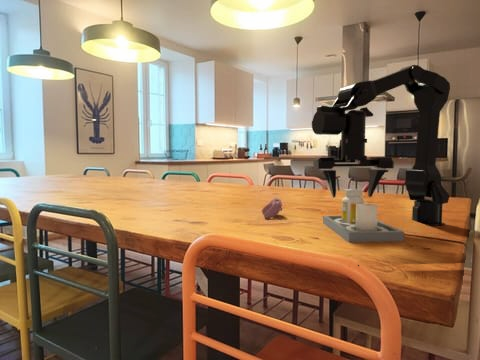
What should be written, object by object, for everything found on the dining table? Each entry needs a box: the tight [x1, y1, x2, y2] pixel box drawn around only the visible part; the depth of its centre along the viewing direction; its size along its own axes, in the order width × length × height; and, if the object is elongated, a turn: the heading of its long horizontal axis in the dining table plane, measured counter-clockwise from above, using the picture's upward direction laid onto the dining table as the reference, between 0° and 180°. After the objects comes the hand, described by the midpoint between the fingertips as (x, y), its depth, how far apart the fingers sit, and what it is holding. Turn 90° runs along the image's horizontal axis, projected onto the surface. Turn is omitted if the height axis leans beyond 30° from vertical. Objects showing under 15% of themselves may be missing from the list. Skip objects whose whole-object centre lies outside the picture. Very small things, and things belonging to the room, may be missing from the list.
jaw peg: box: [356, 203, 378, 231], centre depth 79 cm, size 5×5×7 cm
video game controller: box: [261, 197, 283, 220], centre depth 109 cm, size 10×5×7 cm, turn 0°
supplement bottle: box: [341, 188, 365, 224], centre depth 87 cm, size 5×5×10 cm
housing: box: [322, 215, 405, 243], centre depth 83 cm, size 12×20×3 cm, turn 2°
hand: (351, 197), depth 87 cm, fingers open, 9 cm apart
